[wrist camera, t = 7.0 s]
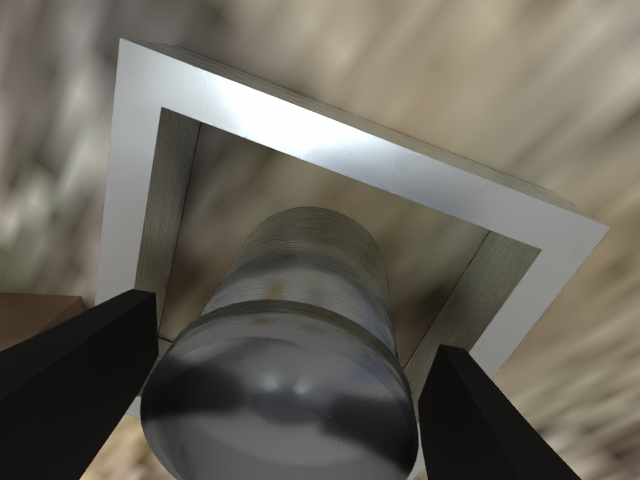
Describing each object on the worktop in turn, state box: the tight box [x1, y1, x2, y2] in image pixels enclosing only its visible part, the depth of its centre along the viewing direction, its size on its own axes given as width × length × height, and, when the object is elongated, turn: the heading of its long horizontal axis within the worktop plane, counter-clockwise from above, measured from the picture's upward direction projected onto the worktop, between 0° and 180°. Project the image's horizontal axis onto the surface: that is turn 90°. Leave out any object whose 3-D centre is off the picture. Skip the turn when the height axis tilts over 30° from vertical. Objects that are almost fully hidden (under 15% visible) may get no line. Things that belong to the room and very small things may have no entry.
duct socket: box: [94, 38, 610, 480], centre depth 11 cm, size 11×12×2 cm
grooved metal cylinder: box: [140, 207, 419, 480], centre depth 9 cm, size 5×5×6 cm
